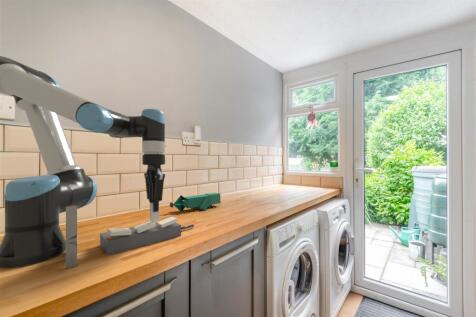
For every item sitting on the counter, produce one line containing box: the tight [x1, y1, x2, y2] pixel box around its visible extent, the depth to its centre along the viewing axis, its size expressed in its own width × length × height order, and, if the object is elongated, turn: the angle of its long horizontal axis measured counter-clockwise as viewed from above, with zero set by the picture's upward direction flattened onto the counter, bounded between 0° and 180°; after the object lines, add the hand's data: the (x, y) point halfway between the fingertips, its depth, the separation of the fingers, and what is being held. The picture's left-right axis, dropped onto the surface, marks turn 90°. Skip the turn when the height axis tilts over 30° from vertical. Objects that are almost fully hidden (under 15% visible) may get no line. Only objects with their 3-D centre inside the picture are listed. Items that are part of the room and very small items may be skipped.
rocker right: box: [157, 216, 178, 228], centre depth 79 cm, size 6×4×1 cm, turn 133°
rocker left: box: [106, 227, 132, 236], centre depth 68 cm, size 6×4×1 cm, turn 133°
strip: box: [99, 221, 195, 256], centre depth 78 cm, size 32×10×4 cm, turn 133°
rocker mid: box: [133, 220, 156, 233], centre depth 73 cm, size 6×4×1 cm, turn 133°
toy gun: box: [65, 205, 78, 270], centre depth 61 cm, size 2×16×15 cm
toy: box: [169, 191, 221, 213], centre depth 123 cm, size 12×10×30 cm
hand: (154, 220), depth 76 cm, fingers closed
